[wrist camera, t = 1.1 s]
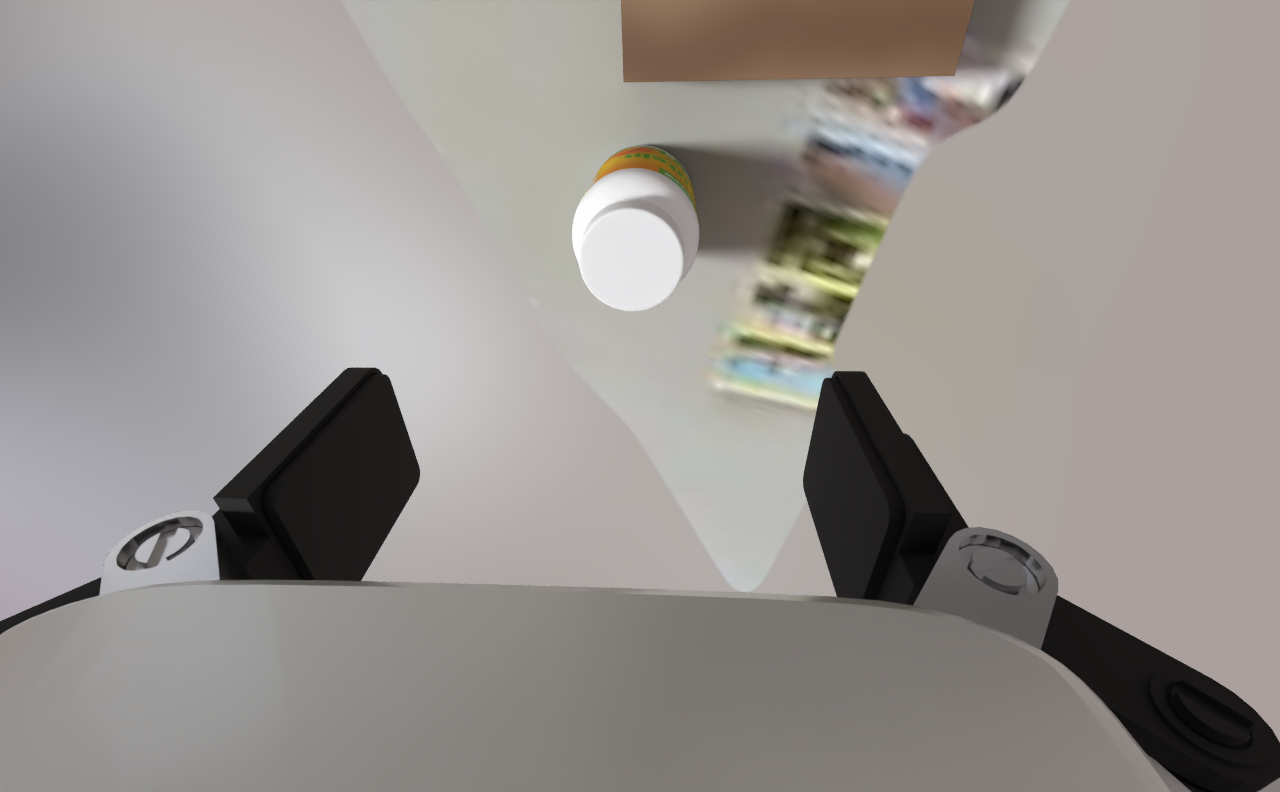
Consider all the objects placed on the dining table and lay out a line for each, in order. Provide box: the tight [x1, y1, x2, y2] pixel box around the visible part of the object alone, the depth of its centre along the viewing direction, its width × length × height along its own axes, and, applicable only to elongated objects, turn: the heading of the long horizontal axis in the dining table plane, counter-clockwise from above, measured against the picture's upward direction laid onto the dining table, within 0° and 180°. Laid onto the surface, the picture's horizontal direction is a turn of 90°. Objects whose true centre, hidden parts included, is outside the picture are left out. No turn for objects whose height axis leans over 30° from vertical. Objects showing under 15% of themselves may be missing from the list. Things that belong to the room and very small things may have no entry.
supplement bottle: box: [572, 145, 699, 311], centre depth 23 cm, size 5×5×10 cm
